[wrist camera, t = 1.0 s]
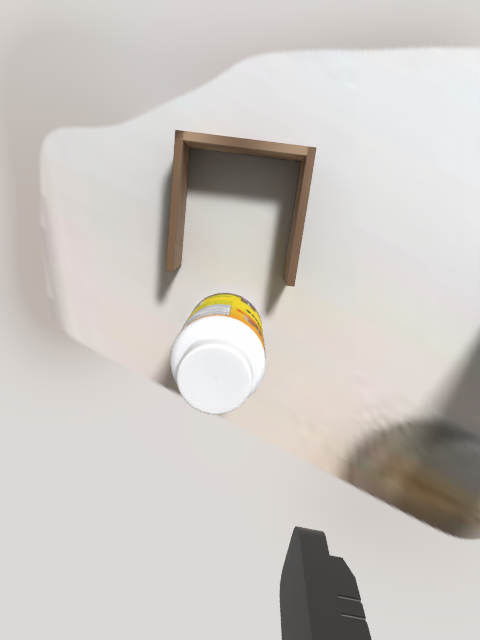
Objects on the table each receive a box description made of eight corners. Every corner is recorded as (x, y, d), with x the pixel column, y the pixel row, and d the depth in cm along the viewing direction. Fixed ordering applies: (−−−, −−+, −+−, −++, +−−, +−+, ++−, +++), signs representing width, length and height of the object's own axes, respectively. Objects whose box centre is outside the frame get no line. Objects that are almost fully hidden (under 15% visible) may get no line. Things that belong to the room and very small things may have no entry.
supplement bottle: (266, 355, 31) (274, 423, 21) (197, 364, 31) (171, 435, 21) (257, 285, 29) (260, 322, 19) (183, 295, 29) (150, 337, 20)
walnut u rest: (309, 154, 27) (316, 147, 24) (290, 279, 29) (294, 286, 26) (183, 138, 27) (175, 130, 24) (174, 264, 29) (165, 270, 26)
